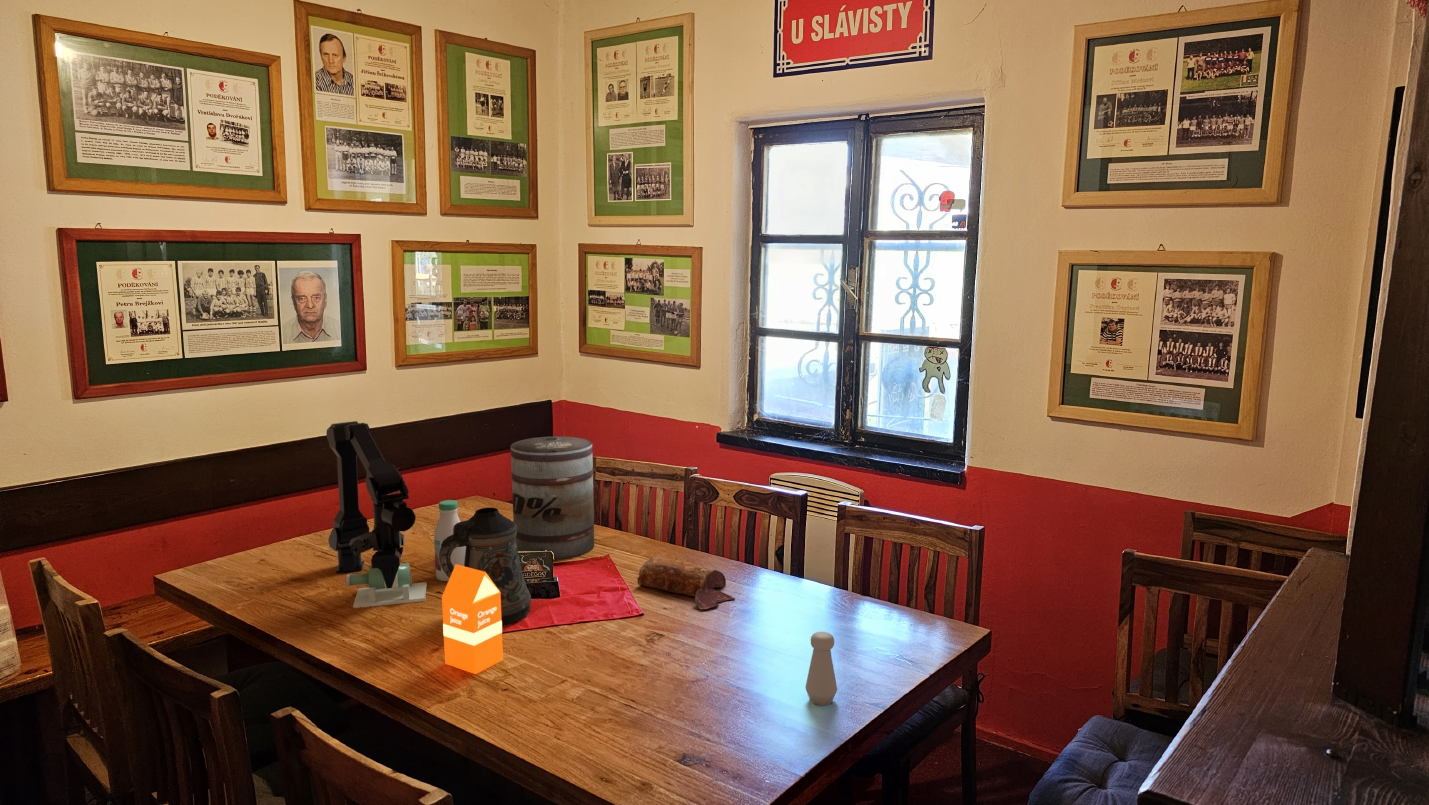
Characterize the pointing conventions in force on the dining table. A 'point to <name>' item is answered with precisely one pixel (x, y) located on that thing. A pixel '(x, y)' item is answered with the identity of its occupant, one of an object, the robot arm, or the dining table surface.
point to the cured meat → (684, 580)
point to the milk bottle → (443, 531)
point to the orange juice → (472, 620)
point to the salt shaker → (821, 670)
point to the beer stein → (491, 558)
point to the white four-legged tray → (390, 595)
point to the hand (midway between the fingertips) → (390, 583)
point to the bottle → (380, 578)
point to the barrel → (553, 495)
